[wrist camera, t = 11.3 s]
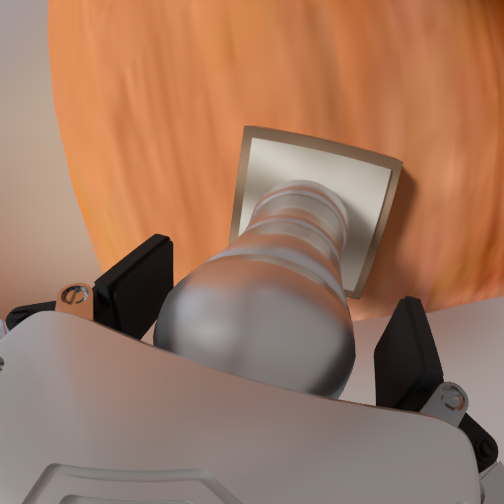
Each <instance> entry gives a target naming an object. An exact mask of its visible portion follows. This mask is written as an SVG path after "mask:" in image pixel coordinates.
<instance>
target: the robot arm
mask: <svg viewBox="0 0 504 504" xmlns="http://www.w3.org/2000/svg"><path fill="white" fill-rule="evenodd" d="M173 288H174V285H173V242H172V241H170V238H169V237H168V236H164V235H160V234H154V235H153V236H152V237H150V238H149V239H148V240H146V241H145V242H144V243H142V244H141V245H140V246H138V247H137V248H136V249H135V250H133V251H132V252H131V253H129V254H128V255H127V256H126V257H124V258H123V259H122V260H121V261H119V262H118V263H117V264H116V265H114V266H113V267H112V268H111V269H109V270H108V271H107V272H106V273H104V274H103V275H102V276H101V277H99V278H98V279H97V280H96V281H95V286H94V287H93V288H91V287H90V286H88V285H86V284H83V283H74V284H70V285H67V286H65V287H64V288H63V289H61V290H60V292H59V293H58V296H57V300H56V301H51V302H45V303H39V304H32V305H26V306H21V307H17V308H15V309H14V310H12V311H11V312H10V313H9V314H8V316H7V318H6V322H3V320H0V504H504V466H503V464H502V463H501V461H500V462H498V463H497V461H496V460H497V457H498V446H497V444H496V442H495V440H494V439H493V438H492V437H491V436H490V435H489V434H488V433H487V432H486V431H485V430H484V429H483V428H482V427H481V426H480V425H479V424H478V423H477V422H476V421H474V420H473V419H472V418H471V417H470V416H469V415H468V414H467V413H466V410H467V408H468V397H467V395H466V393H465V392H464V390H463V389H462V388H461V387H460V386H459V385H457V384H455V383H452V382H444V379H443V371H442V367H441V363H440V360H439V356H438V352H437V349H436V346H435V342H434V339H433V336H432V333H431V330H430V326H429V323H428V320H427V317H426V314H425V312H424V309H423V306H422V303H421V300H420V299H417V298H413V297H409V296H406V297H405V298H404V299H401V300H400V301H399V303H398V305H397V307H396V309H395V311H394V313H393V315H392V317H391V319H390V321H389V323H388V325H387V327H386V329H385V331H384V333H383V335H382V336H381V338H380V340H379V342H378V344H377V346H376V348H375V351H374V367H375V385H376V386H375V388H376V406H373V405H367V404H361V403H356V402H350V401H344V400H338V399H333V398H328V397H323V396H319V395H314V394H309V393H305V392H301V391H296V390H292V389H288V388H284V387H280V386H276V385H272V384H268V383H265V382H261V381H257V380H254V379H250V378H247V377H243V376H240V375H237V374H233V373H230V372H227V371H224V370H220V369H217V368H214V367H211V366H208V365H205V364H202V363H199V362H196V361H193V360H191V359H188V358H185V357H182V356H179V355H177V354H174V353H171V352H169V351H166V350H163V349H161V348H158V347H156V346H153V345H151V344H148V343H145V342H143V341H141V339H142V337H143V336H144V334H146V332H147V331H148V330H149V329H150V327H151V326H152V325H153V323H154V322H155V321H156V320H157V318H158V316H159V313H160V310H161V308H162V305H163V303H164V301H165V299H166V297H167V295H168V293H169V292H170V291H171V290H172V289H173Z"/></svg>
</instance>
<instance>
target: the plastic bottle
mask: <svg viewBox="0 0 504 504" xmlns="http://www.w3.org/2000/svg"><path fill="white" fill-rule="evenodd" d="M348 235H349V218H348V214H347V211H346V209H345V207H344V205H343V203H342V202H341V200H340V199H339V198H338V197H337V196H336V195H335V194H334V193H333V192H332V191H331V190H330V189H329V188H327V187H326V186H324V185H322V184H320V183H317V182H315V181H310V180H291V181H286V182H283V183H280V184H277V185H275V186H274V187H272V188H271V189H269V190H268V191H266V192H265V193H264V194H263V195H262V196H261V198H260V199H259V201H258V202H257V204H256V206H255V208H254V210H253V213H252V215H251V218H250V222H249V224H248V226H247V228H246V229H245V231H244V232H243V233H242V234H241V235H240V236H239V237H238V238H237V239H236V240H235V241H234V242H233V243H232V244H231V245H230V246H228V247H227V248H225V249H224V250H222V251H221V252H219V253H218V254H217V255H215V256H214V257H212V258H211V259H209V260H208V261H206V262H205V263H203V264H202V265H200V266H199V267H198V268H196V269H194V270H193V271H191V272H190V273H189V274H188V275H187V276H186V277H185V278H184V279H182V280H181V281H180V282H179V283H178V284H177V285H176V286H175V287H174V288H173V289H172V290H171V291H170V292H169V293H168V295H167V297H166V299H165V301H164V303H163V305H162V308H161V310H160V313H159V316H158V318H157V321H156V324H155V329H154V335H153V346H156V347H158V348H161V349H163V350H166V351H169V352H171V353H174V354H177V355H179V356H182V357H185V358H188V359H191V360H193V361H196V362H199V363H202V364H205V365H208V366H211V367H214V368H217V369H220V370H224V371H227V372H230V373H233V374H237V375H240V376H243V377H247V378H250V379H254V380H257V381H261V382H265V383H268V384H272V385H276V386H280V387H284V388H288V389H292V390H296V391H301V392H305V393H309V394H314V395H319V396H323V397H328V398H333V399H338V398H339V397H340V395H341V393H342V392H343V390H344V388H345V386H346V383H347V381H348V379H349V377H350V374H351V372H352V369H353V365H354V361H355V357H356V354H355V340H354V332H353V323H352V320H351V316H350V312H349V308H348V304H347V300H346V296H345V293H344V289H343V285H342V278H341V268H340V263H341V257H342V253H343V251H344V249H345V246H346V243H347V239H348Z"/></svg>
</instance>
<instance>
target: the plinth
mask: <svg viewBox="0 0 504 504" xmlns="http://www.w3.org/2000/svg"><path fill="white" fill-rule="evenodd" d="M402 164H403V162H402V161H400V160H398V159H396V158H393V157H390V156H387V155H384V154H380V153H377V152H373V151H370V150H366V149H363V148H359V147H355V146H351V145H347V144H343V143H339V142H335V141H331V140H327V139H322V138H318V137H313V136H308V135H304V134H299V133H293V132H288V131H283V130H277V129H271V128H265V127H259V126H244V132H243V139H242V146H241V153H240V160H239V167H238V175H237V182H236V190H235V198H234V205H233V213H232V221H231V230H230V238H229V246H230V245H231V244H232V243H233V242H234V241H235V240H236V239H237V238H238V237H239V236H240V235H241V234H242V233H243V232H244V231H245V229H246V228H247V226H248V224H249V222H250V218H251V215H252V213H253V210H254V208H255V206H256V204H257V202H258V201H259V199H260V198H261V196H262V195H263V194H264V193H265V192H266V191H268V190H269V189H271V188H272V187H274V186H275V185H277V184H280V183H283V182H286V181H291V180H310V181H315V182H317V183H320V184H322V185H324V186H326V187H327V188H329V189H330V190H331V191H332V192H333V193H334V194H335V195H336V196H337V197H338V198H339V199H340V200H341V202H342V203H343V205H344V207H345V209H346V211H347V214H348V218H349V235H348V239H347V243H346V246H345V249H344V251H343V253H342V257H341V263H340V268H341V278H342V285H343V289H344V293H345V296H346V297H350V298H354V299H360V296H361V294H362V291H363V289H364V286H365V284H366V281H367V278H368V276H369V273H370V270H371V267H372V265H373V262H374V259H375V256H376V253H377V250H378V247H379V244H380V241H381V238H382V235H383V232H384V229H385V226H386V223H387V219H388V216H389V213H390V209H391V206H392V202H393V199H394V195H395V191H396V188H397V184H398V180H399V176H400V172H401V168H402Z"/></svg>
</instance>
